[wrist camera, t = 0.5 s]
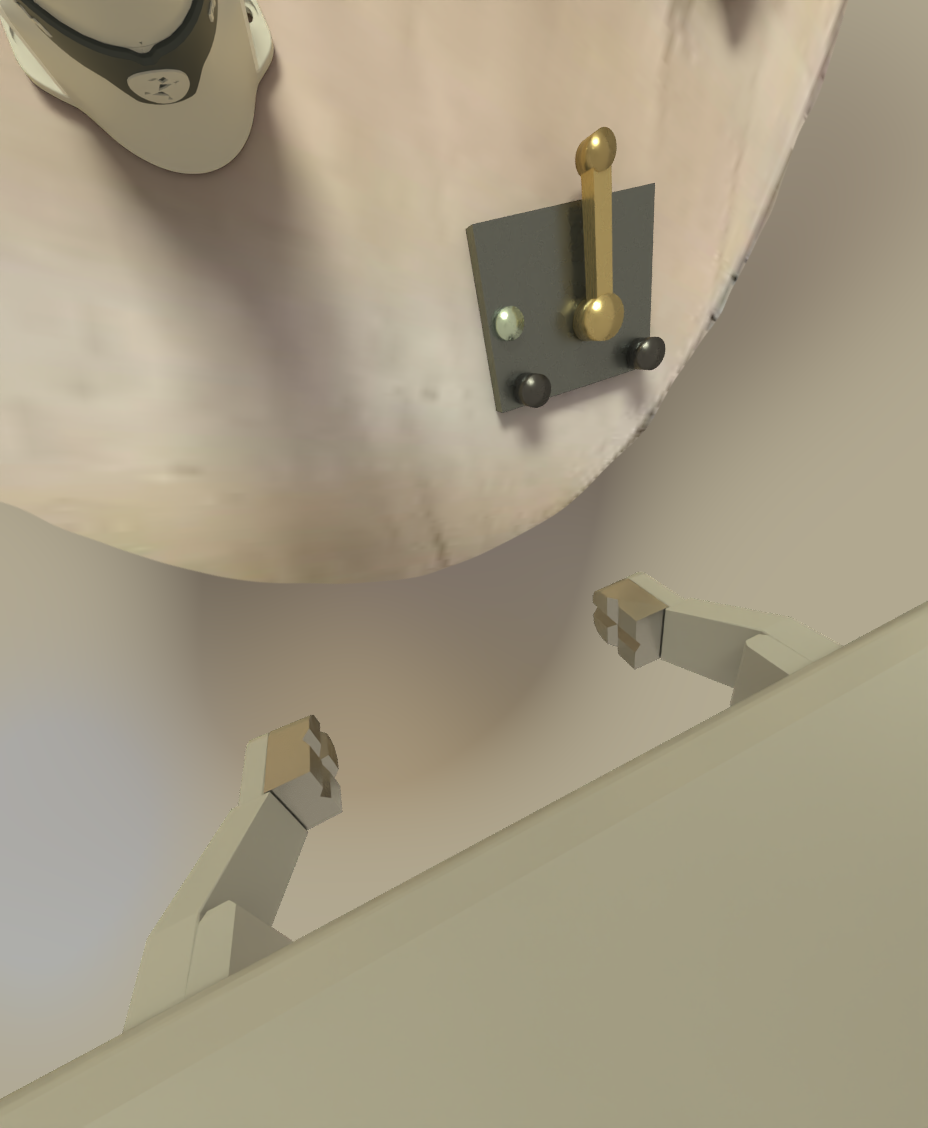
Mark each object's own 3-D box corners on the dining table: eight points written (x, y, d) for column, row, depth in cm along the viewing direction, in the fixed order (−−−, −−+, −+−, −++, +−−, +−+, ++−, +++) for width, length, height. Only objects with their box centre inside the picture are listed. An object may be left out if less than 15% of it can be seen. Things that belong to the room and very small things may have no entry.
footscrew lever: (605, 335, 53) (624, 335, 50) (574, 345, 52) (590, 345, 49) (602, 138, 43) (624, 122, 40) (562, 146, 42) (582, 130, 39)
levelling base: (465, 229, 44) (482, 216, 40) (642, 188, 48) (674, 173, 44) (496, 410, 55) (512, 416, 51) (639, 364, 59) (664, 365, 55)
